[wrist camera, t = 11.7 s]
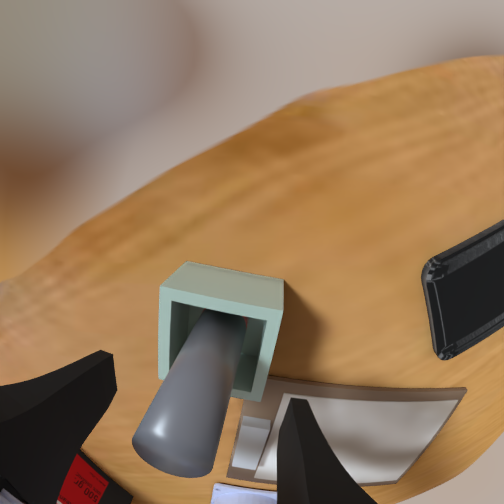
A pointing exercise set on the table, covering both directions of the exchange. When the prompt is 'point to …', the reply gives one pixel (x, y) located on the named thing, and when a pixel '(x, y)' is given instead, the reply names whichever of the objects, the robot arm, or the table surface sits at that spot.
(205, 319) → the marker
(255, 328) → the box
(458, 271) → the phone
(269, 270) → the table surface
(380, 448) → the clipboard
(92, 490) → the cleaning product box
